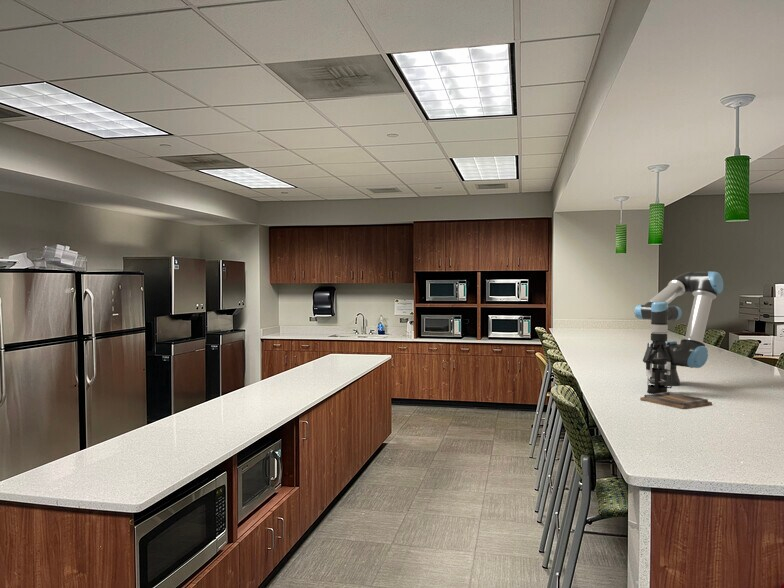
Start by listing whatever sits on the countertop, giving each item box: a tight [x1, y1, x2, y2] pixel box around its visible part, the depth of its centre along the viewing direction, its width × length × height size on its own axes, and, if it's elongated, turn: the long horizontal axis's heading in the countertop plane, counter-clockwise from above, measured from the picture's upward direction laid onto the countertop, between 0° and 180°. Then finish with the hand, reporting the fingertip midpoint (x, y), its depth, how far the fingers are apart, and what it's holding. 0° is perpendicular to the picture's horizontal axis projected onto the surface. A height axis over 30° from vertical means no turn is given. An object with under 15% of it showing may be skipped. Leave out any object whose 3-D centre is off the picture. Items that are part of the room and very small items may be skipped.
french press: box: [646, 353, 673, 394], centre depth 288 cm, size 12×9×23 cm
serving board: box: [640, 391, 713, 410], centre depth 265 cm, size 20×22×2 cm
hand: (658, 375), depth 288 cm, fingers open, 13 cm apart
